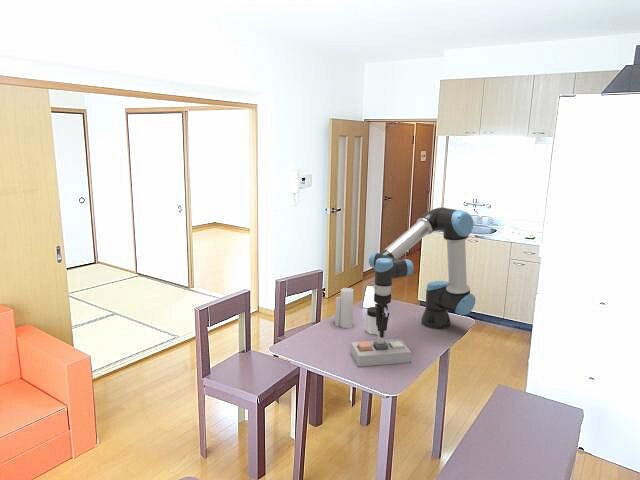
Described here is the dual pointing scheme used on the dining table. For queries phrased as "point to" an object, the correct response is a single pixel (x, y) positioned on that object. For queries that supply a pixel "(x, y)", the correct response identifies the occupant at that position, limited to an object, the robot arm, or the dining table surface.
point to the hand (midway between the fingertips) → (380, 342)
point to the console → (380, 354)
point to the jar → (371, 321)
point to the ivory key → (396, 345)
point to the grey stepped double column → (344, 308)
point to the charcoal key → (380, 346)
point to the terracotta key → (364, 346)
